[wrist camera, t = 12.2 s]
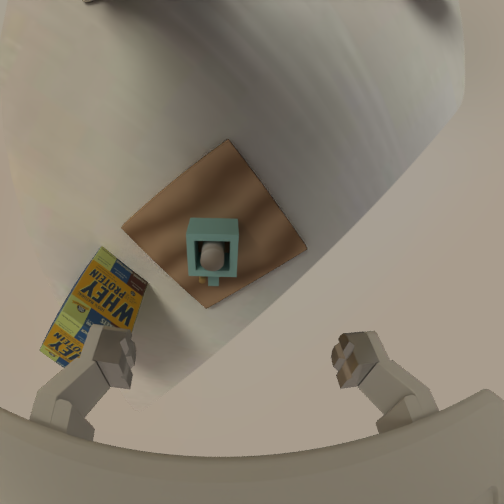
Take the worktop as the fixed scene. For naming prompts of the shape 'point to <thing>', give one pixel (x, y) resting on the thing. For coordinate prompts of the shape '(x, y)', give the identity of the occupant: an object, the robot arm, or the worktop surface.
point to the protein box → (94, 306)
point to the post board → (215, 206)
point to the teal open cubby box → (212, 232)
